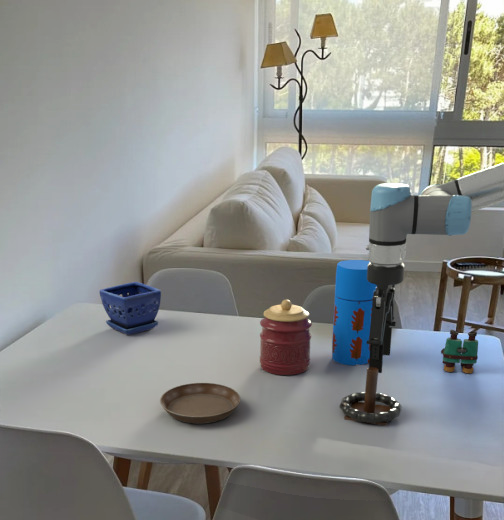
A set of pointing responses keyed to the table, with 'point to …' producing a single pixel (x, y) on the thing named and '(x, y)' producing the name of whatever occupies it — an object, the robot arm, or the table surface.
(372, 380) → the stand
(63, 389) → the table surface
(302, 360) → the kitchen canister
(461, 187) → the robot arm
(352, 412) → the ring
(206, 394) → the plant saucer
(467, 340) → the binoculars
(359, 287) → the thermos
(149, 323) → the flower pot
